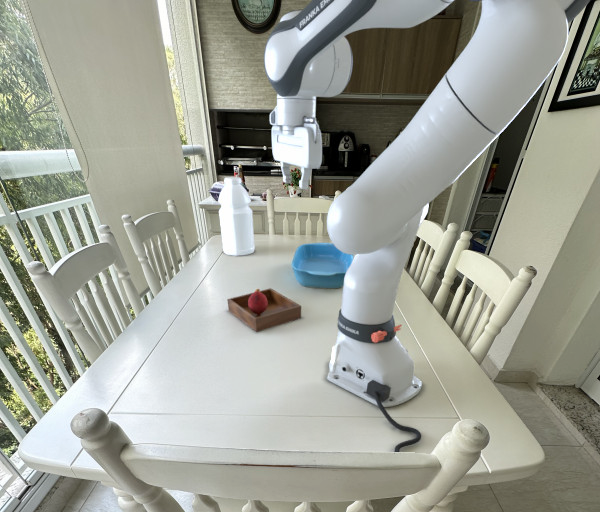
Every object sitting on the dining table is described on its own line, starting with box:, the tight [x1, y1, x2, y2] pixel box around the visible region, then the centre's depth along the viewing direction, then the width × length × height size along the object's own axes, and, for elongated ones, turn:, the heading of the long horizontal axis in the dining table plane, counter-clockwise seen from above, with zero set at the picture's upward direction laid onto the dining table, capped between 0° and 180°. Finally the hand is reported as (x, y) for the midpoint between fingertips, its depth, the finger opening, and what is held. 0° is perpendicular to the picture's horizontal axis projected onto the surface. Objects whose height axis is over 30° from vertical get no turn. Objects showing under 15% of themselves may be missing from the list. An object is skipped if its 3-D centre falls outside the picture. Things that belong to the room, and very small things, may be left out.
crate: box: [226, 287, 302, 333], centre depth 106 cm, size 17×16×4 cm
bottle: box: [217, 176, 256, 257], centre depth 148 cm, size 14×14×28 cm
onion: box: [248, 288, 268, 315], centre depth 104 cm, size 6×6×8 cm
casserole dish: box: [291, 242, 354, 289], centre depth 133 cm, size 37×22×7 cm, turn 175°
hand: (295, 185), depth 90 cm, fingers open, 8 cm apart
